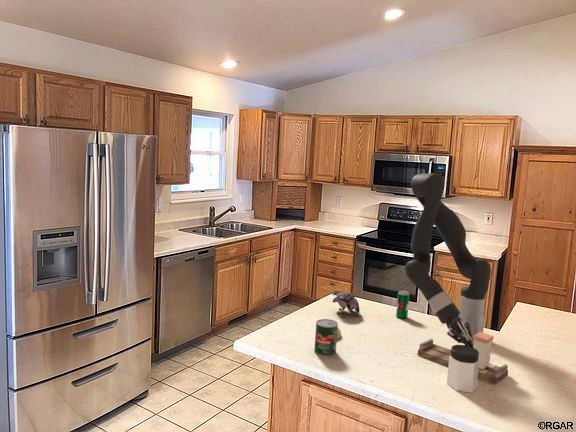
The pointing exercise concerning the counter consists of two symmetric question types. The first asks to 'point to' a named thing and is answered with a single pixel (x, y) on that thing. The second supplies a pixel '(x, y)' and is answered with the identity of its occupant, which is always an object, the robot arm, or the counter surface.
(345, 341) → the counter surface
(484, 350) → the fader knob
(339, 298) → the bird figurine
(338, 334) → the bread roll
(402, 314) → the soda can
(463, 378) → the jar
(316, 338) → the canned tomato
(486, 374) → the fader console
